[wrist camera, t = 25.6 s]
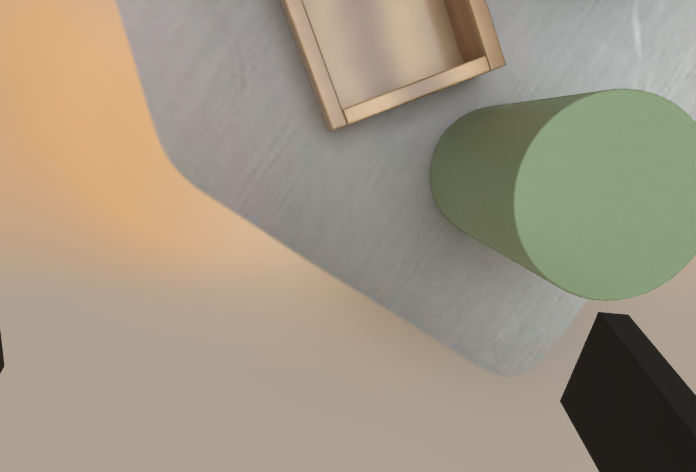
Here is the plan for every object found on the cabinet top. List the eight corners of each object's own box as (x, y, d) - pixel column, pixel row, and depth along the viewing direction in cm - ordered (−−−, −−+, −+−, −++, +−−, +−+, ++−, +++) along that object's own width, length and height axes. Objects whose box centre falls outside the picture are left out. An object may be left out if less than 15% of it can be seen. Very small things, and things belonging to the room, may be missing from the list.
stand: (454, 256, 36) (549, 331, 23) (411, 134, 35) (485, 134, 21) (574, 210, 37) (740, 257, 23) (536, 86, 35) (689, 56, 21)
